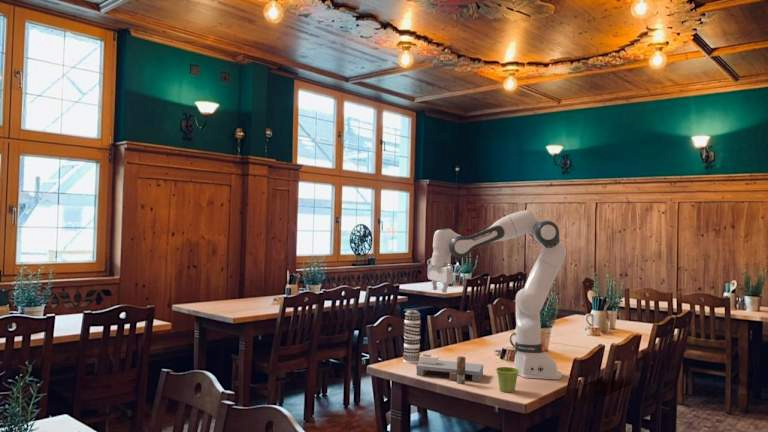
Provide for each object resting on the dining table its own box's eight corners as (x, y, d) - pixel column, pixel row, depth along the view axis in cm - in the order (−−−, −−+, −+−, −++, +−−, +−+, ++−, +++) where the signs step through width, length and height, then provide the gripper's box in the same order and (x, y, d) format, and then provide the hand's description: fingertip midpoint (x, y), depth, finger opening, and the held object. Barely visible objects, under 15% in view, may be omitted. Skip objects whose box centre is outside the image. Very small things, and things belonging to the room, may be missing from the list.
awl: (465, 382, 247) (466, 356, 247) (464, 384, 243) (464, 358, 244) (457, 381, 248) (457, 356, 248) (455, 383, 244) (456, 357, 245)
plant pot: (514, 395, 229) (514, 373, 229) (492, 391, 234) (492, 370, 234) (521, 390, 237) (522, 369, 237) (500, 386, 242) (500, 365, 242)
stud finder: (438, 362, 263) (438, 355, 263) (436, 364, 259) (436, 357, 259) (421, 360, 265) (421, 354, 265) (419, 362, 261) (419, 355, 261)
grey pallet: (483, 373, 263) (483, 363, 263) (477, 383, 246) (478, 372, 246) (424, 367, 272) (424, 357, 272) (414, 376, 254) (415, 366, 255)
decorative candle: (407, 364, 277) (408, 312, 278) (399, 359, 286) (400, 309, 286) (424, 362, 281) (425, 311, 282) (415, 358, 290) (416, 309, 290)
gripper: (457, 264, 263) (455, 294, 263) (437, 260, 282) (435, 288, 282) (445, 263, 261) (443, 294, 261) (425, 260, 280) (424, 288, 280)
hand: (439, 291), depth 272 cm, fingers open, 8 cm apart
